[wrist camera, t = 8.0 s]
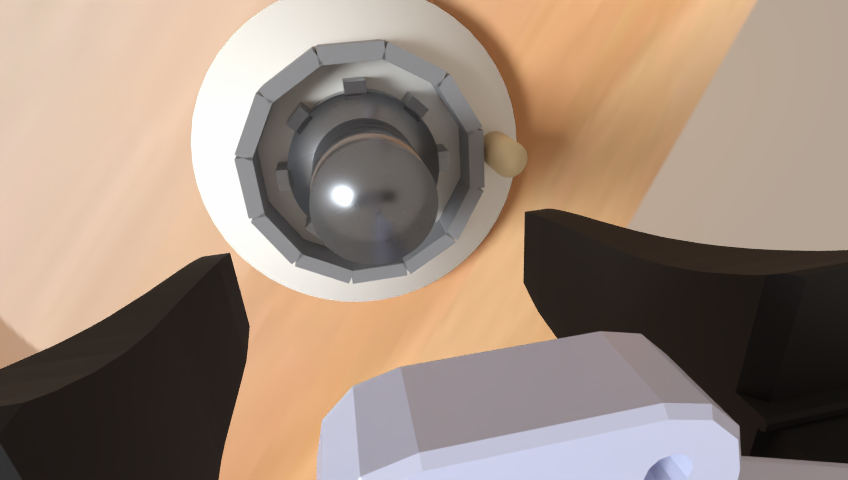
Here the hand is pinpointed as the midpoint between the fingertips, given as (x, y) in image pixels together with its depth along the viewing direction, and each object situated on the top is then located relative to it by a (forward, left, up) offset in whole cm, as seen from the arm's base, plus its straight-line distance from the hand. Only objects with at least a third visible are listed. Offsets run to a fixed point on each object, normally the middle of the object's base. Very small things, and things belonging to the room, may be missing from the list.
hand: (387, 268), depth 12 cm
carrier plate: (0, 0, -10) cm, 10 cm away
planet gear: (0, 0, -9) cm, 9 cm away
